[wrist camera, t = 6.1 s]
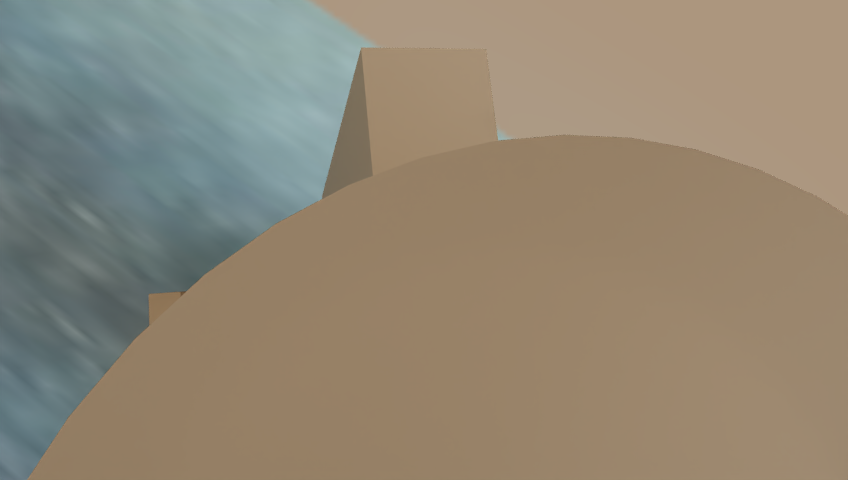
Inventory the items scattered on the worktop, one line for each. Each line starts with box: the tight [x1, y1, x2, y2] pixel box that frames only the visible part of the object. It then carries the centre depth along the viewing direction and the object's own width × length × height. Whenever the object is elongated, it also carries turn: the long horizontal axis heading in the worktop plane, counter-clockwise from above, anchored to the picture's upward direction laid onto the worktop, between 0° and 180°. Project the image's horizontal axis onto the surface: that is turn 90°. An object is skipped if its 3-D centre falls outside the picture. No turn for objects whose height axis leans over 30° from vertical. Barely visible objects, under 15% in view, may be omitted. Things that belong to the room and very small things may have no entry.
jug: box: [27, 48, 848, 480], centre depth 9 cm, size 8×6×12 cm
